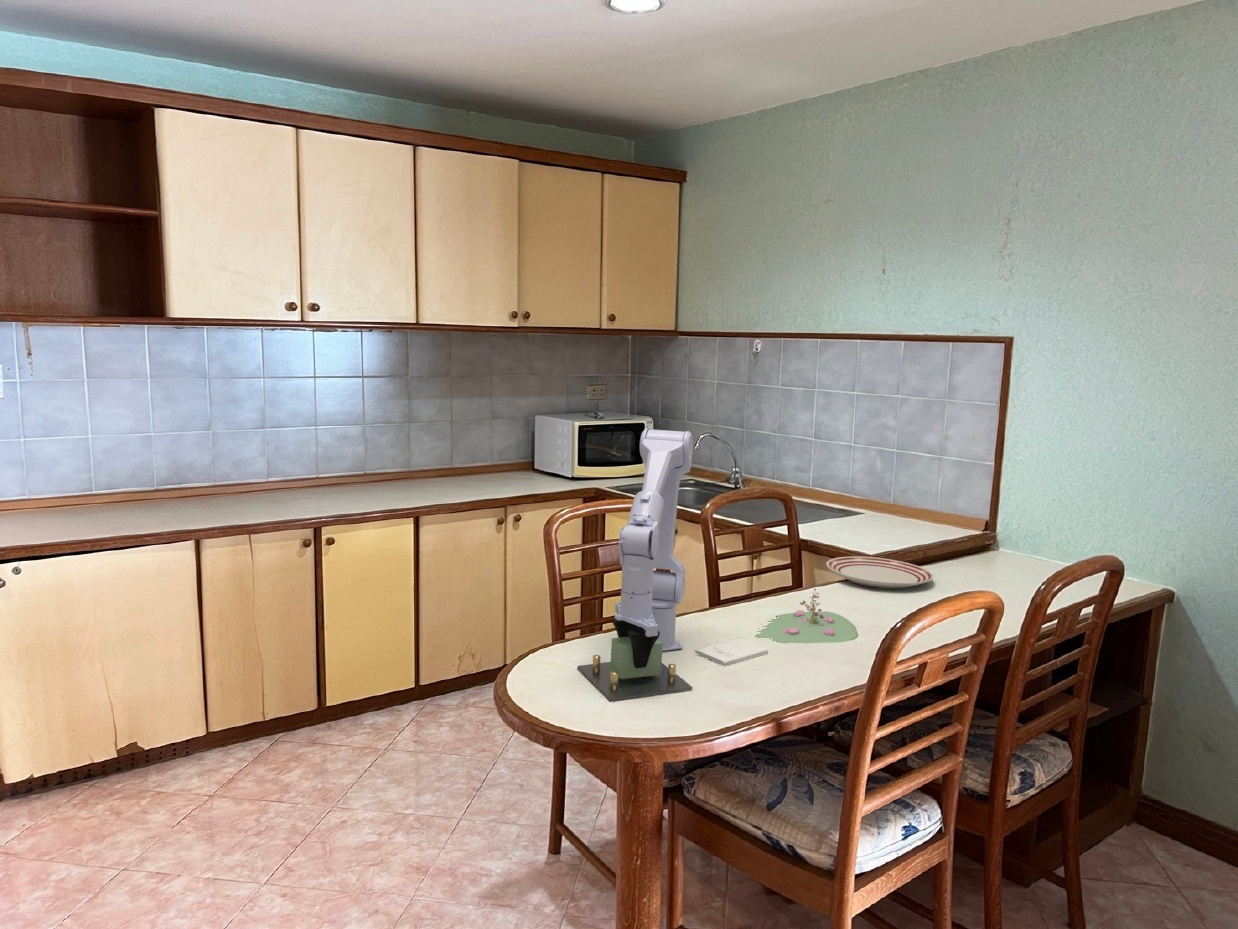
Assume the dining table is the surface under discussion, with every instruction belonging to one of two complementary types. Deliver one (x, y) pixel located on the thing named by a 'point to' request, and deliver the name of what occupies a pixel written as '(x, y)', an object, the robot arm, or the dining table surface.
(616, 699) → the chassis
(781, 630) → the plant
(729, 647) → the external hard drive
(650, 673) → the board block
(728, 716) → the dining table surface
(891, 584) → the dinner plate
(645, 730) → the dining table surface
